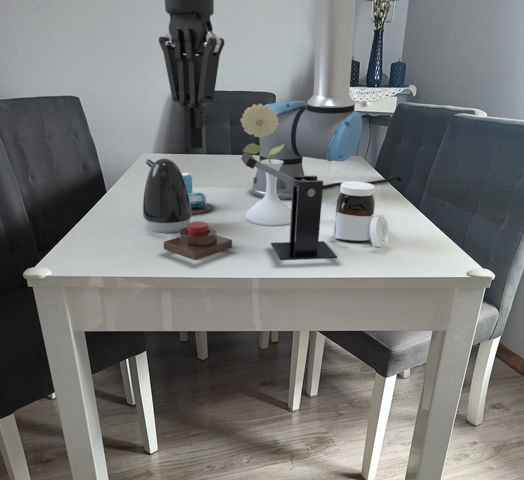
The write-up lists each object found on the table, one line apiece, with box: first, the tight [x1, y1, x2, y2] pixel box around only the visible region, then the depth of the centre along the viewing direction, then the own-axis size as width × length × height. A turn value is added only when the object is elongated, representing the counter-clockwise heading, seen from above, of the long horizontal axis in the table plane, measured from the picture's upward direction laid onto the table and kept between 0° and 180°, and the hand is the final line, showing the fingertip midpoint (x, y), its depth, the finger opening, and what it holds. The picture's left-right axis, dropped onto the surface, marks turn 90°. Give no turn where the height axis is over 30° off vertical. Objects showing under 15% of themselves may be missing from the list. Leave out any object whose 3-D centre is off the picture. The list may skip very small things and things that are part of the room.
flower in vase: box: [240, 103, 291, 227], centre depth 114 cm, size 13×11×25 cm
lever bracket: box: [270, 175, 338, 261], centre depth 98 cm, size 11×9×15 cm
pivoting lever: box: [240, 152, 307, 190], centre depth 93 cm, size 14×6×2 cm, turn 99°
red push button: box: [187, 221, 209, 235], centre depth 99 cm, size 4×4×2 cm
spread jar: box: [333, 181, 390, 248], centre depth 107 cm, size 12×11×12 cm
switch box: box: [163, 226, 233, 261], centre depth 100 cm, size 10×8×4 cm
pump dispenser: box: [142, 157, 193, 234], centre depth 109 cm, size 10×10×15 cm
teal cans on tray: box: [180, 171, 213, 216], centre depth 127 cm, size 12×12×8 cm
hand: (193, 147), depth 91 cm, fingers closed
